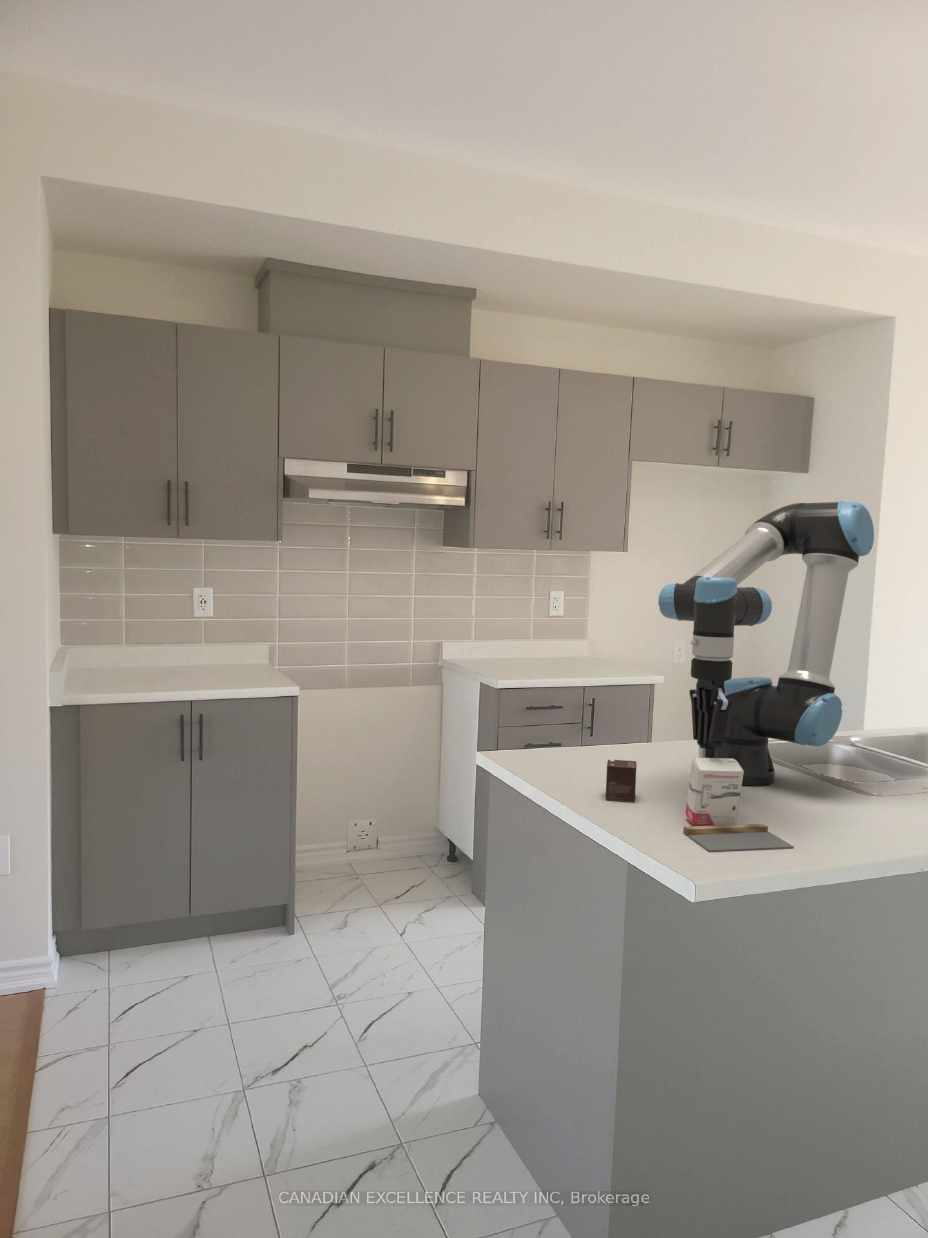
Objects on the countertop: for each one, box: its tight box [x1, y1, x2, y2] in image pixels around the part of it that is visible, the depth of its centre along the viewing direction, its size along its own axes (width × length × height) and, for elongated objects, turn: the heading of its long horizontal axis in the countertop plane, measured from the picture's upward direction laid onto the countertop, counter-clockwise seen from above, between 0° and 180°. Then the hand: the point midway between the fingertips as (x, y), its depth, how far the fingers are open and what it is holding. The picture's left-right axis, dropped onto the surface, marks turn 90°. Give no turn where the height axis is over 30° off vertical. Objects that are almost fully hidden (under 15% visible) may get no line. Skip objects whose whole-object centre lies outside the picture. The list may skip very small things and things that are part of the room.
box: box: [605, 759, 637, 803], centre depth 180 cm, size 6×6×7 cm
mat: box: [687, 831, 795, 853], centre depth 154 cm, size 16×8×1 cm, turn 101°
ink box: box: [684, 757, 744, 826], centre depth 163 cm, size 9×5×12 cm, turn 92°
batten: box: [682, 823, 769, 837], centre depth 159 cm, size 16×2×1 cm, turn 101°
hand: (705, 780), depth 167 cm, fingers closed
